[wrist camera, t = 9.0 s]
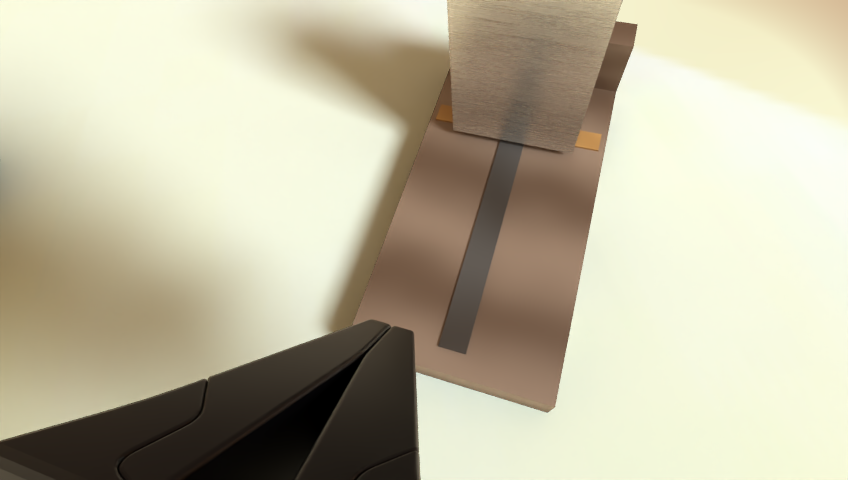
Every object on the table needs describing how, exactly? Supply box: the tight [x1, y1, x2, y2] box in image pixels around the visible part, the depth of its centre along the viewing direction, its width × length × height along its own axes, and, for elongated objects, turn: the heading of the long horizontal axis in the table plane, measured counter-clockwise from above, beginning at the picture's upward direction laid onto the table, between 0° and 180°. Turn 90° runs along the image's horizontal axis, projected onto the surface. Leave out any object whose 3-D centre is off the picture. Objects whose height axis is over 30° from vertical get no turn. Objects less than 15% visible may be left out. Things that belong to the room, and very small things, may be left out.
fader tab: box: [447, 0, 623, 154], centre depth 19 cm, size 3×7×12 cm, turn 73°
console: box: [352, 22, 637, 413], centre depth 23 cm, size 18×9×5 cm, turn 163°
